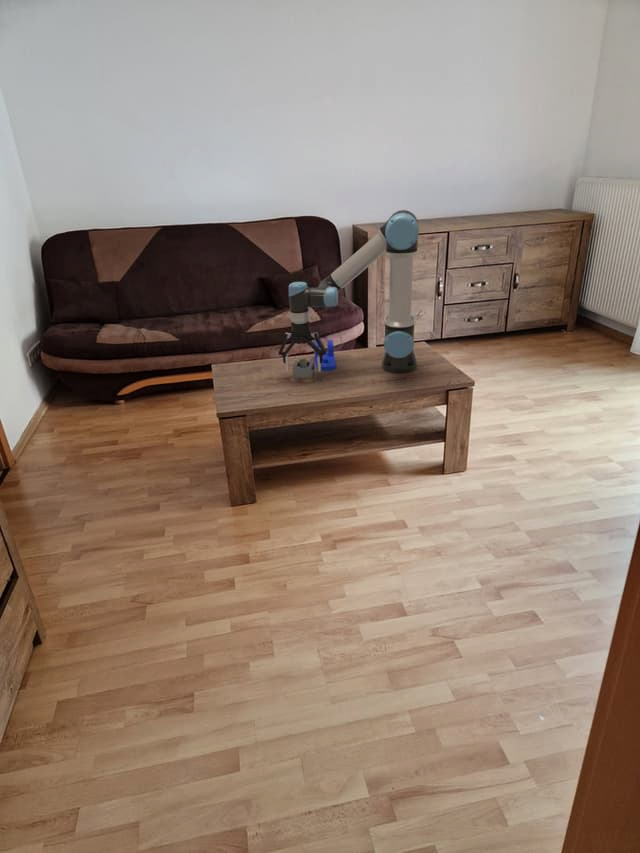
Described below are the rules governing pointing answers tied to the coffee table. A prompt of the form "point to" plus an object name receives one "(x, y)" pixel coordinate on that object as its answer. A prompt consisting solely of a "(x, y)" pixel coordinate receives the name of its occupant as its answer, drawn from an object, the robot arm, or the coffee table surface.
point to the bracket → (326, 357)
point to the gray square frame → (303, 370)
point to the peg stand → (304, 363)
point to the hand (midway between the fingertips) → (303, 370)
